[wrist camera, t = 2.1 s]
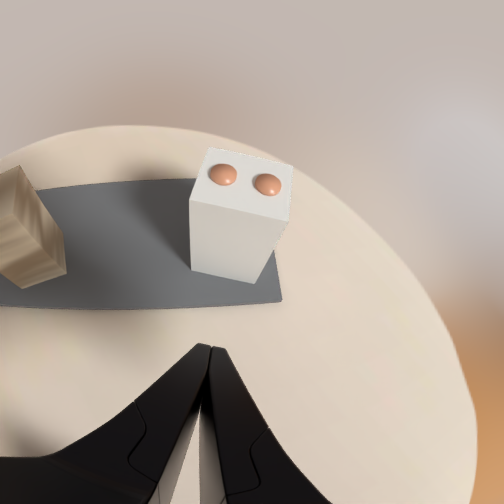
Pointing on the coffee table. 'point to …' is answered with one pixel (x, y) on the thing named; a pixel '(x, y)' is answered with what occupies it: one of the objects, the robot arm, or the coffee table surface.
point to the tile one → (27, 234)
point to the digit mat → (132, 253)
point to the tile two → (237, 213)
